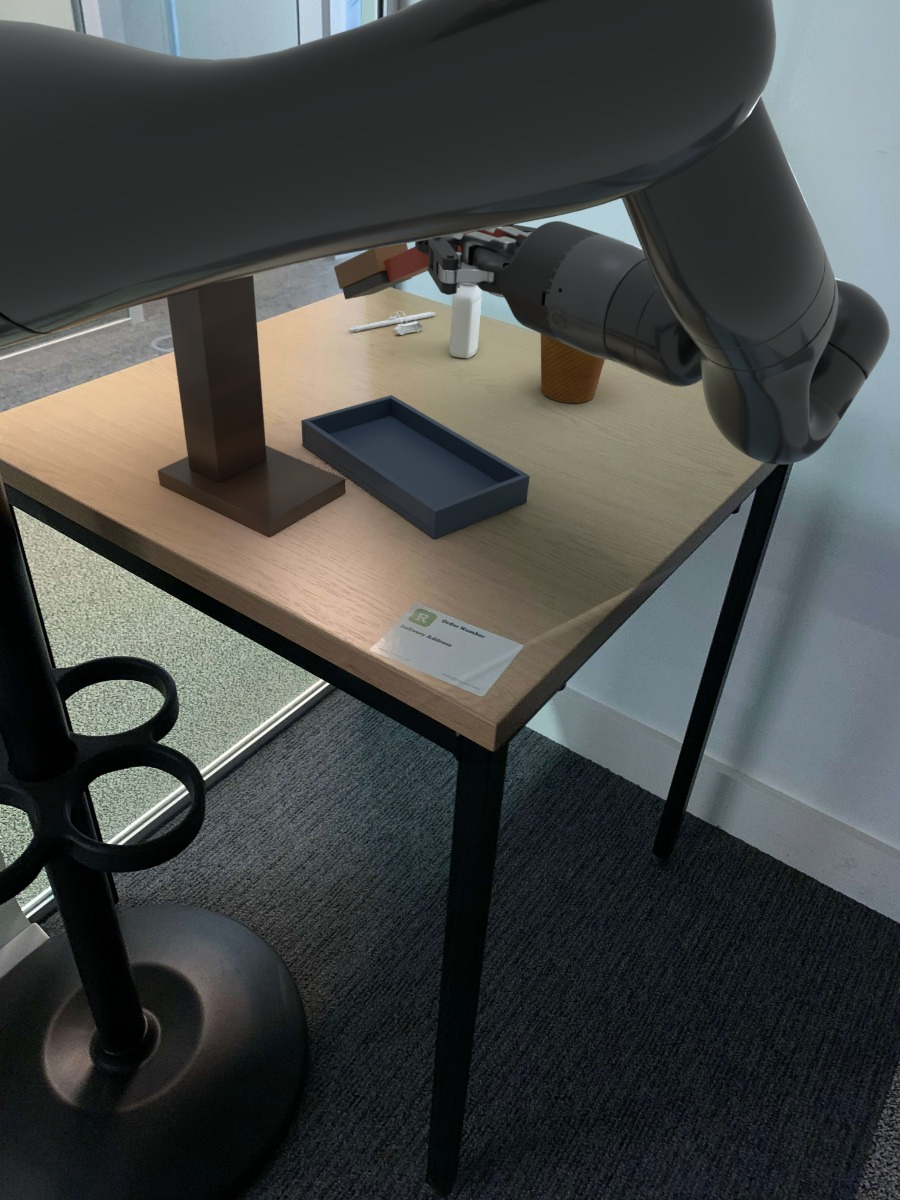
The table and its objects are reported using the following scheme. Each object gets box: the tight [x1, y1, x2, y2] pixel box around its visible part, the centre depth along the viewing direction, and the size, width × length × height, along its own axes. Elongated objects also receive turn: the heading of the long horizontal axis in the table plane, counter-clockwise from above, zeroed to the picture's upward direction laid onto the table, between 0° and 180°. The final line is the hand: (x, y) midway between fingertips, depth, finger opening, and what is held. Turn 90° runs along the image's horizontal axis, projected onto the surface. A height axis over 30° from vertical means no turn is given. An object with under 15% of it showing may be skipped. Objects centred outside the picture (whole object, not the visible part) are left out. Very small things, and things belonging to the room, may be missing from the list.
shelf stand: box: [157, 275, 347, 538], centre depth 74 cm, size 14×10×32 cm
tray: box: [300, 394, 531, 540], centre depth 87 cm, size 21×11×3 cm, turn 40°
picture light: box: [347, 310, 437, 336], centre depth 119 cm, size 14×4×2 cm, turn 127°
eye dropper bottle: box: [449, 283, 483, 359], centre depth 111 cm, size 4×6×12 cm
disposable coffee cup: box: [540, 333, 606, 404], centre depth 102 cm, size 10×10×12 cm
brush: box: [333, 231, 476, 300], centre depth 76 cm, size 17×4×3 cm, turn 40°
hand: (433, 232), depth 73 cm, fingers closed on brush, 2 cm apart
